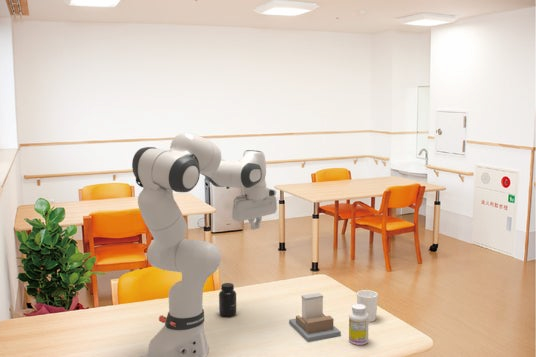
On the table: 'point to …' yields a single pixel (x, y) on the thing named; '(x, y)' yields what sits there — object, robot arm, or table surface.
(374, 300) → the white cup
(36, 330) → the table surface
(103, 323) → the table surface
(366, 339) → the supplement bottle
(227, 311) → the supplement bottle
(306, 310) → the push key
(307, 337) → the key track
